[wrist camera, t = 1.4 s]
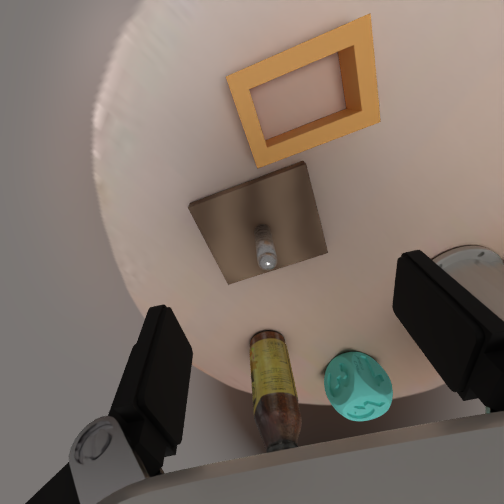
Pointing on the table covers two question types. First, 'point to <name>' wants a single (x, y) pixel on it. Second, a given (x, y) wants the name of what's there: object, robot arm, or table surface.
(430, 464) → the robot arm
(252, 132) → the link
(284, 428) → the sauce bottle
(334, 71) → the table surface
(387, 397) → the decorative dice
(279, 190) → the plate
